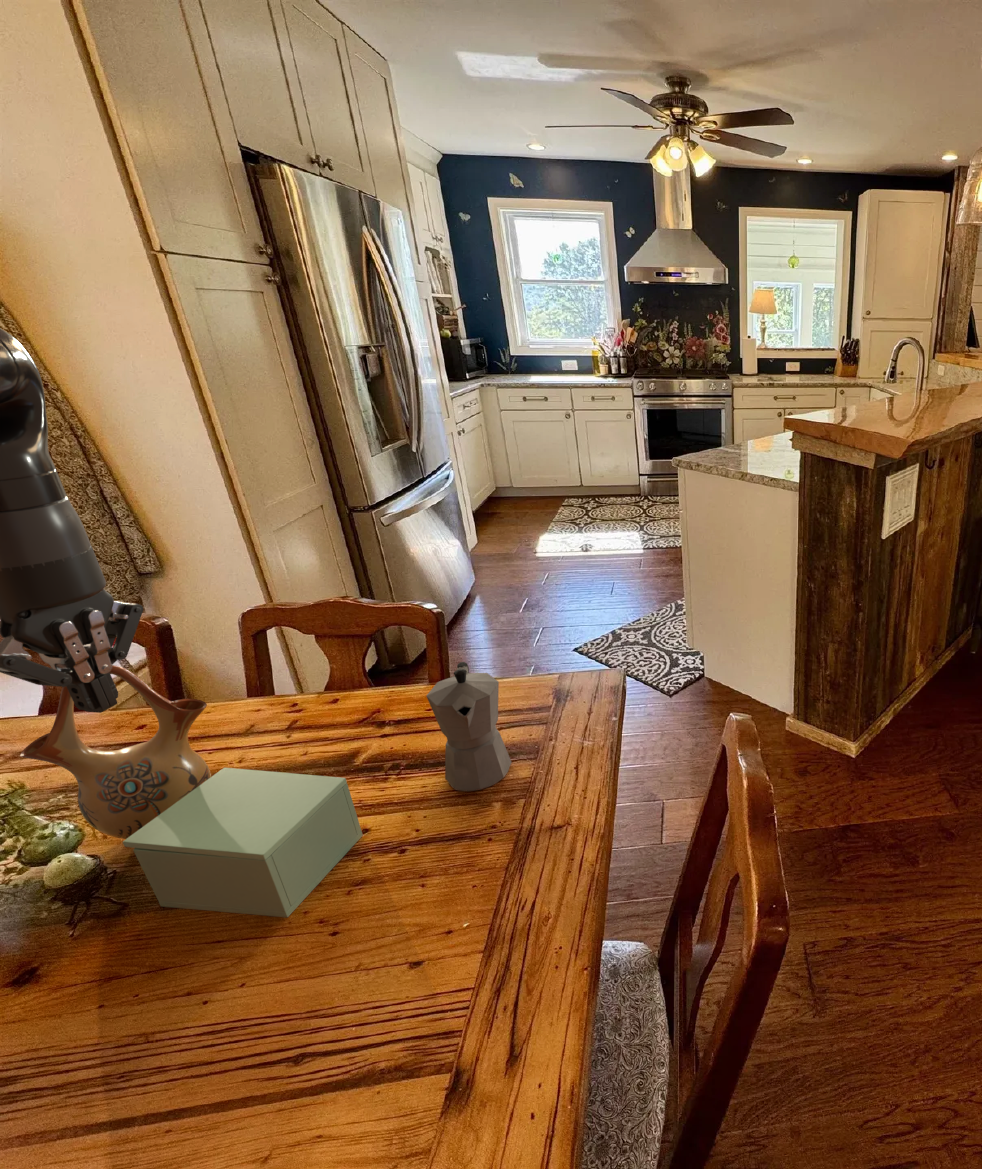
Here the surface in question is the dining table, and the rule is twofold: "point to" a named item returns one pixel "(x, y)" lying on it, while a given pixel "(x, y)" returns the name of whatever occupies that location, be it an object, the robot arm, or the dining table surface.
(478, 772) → the coffeepot
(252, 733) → the dining table surface
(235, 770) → the lid
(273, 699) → the dining table surface
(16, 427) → the robot arm
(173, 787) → the ceramic vessel
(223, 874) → the box
